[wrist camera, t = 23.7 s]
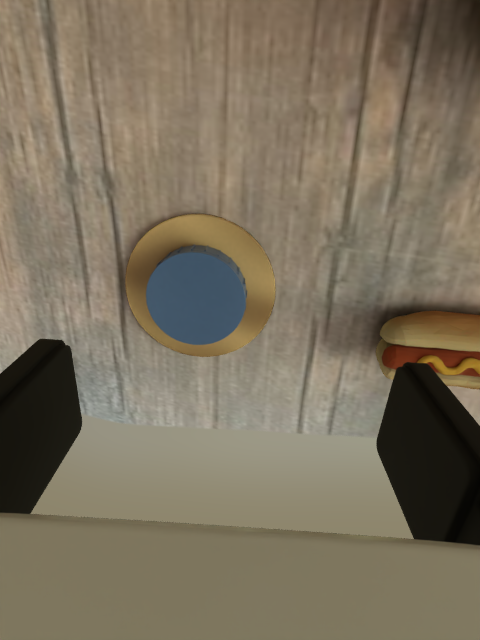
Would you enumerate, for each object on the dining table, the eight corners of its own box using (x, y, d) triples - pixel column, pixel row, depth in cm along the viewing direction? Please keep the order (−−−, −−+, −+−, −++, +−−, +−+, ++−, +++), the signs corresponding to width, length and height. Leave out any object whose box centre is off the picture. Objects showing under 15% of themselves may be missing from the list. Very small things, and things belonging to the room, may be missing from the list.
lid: (151, 239, 25) (143, 246, 24) (251, 249, 25) (251, 256, 24) (153, 329, 28) (146, 341, 27) (242, 337, 28) (241, 350, 27)
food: (361, 362, 29) (379, 401, 25) (375, 297, 27) (399, 328, 23) (537, 374, 29) (588, 416, 25) (568, 310, 27) (630, 344, 22)
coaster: (268, 358, 30) (268, 361, 29) (132, 348, 30) (130, 351, 29) (282, 218, 25) (283, 220, 25) (121, 208, 25) (118, 209, 25)
